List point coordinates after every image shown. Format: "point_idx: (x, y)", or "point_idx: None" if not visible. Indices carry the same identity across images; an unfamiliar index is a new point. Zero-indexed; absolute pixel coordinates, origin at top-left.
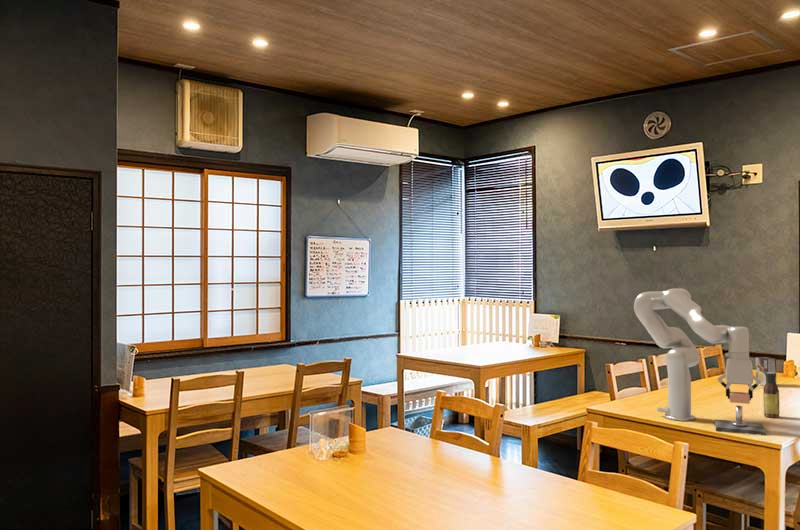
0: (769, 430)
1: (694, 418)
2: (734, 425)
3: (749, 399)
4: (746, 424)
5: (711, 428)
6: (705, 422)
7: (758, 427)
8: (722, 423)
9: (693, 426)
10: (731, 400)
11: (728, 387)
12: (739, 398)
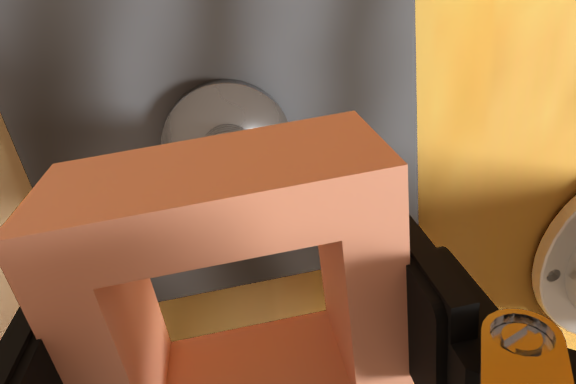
0: (9, 213)
1: (542, 250)
2: (261, 90)
3: (30, 196)
4: (162, 131)
5: (435, 17)
6: (468, 216)
7: (65, 144)
8: None
9: (570, 13)
10: (342, 122)
11: (493, 348)
12: (212, 166)
